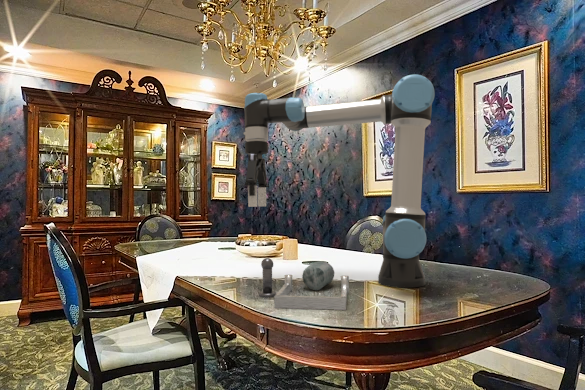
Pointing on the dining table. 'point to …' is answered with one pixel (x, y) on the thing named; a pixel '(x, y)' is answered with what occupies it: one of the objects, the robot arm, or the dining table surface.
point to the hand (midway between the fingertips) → (257, 206)
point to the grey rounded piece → (318, 275)
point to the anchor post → (267, 278)
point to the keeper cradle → (311, 298)
